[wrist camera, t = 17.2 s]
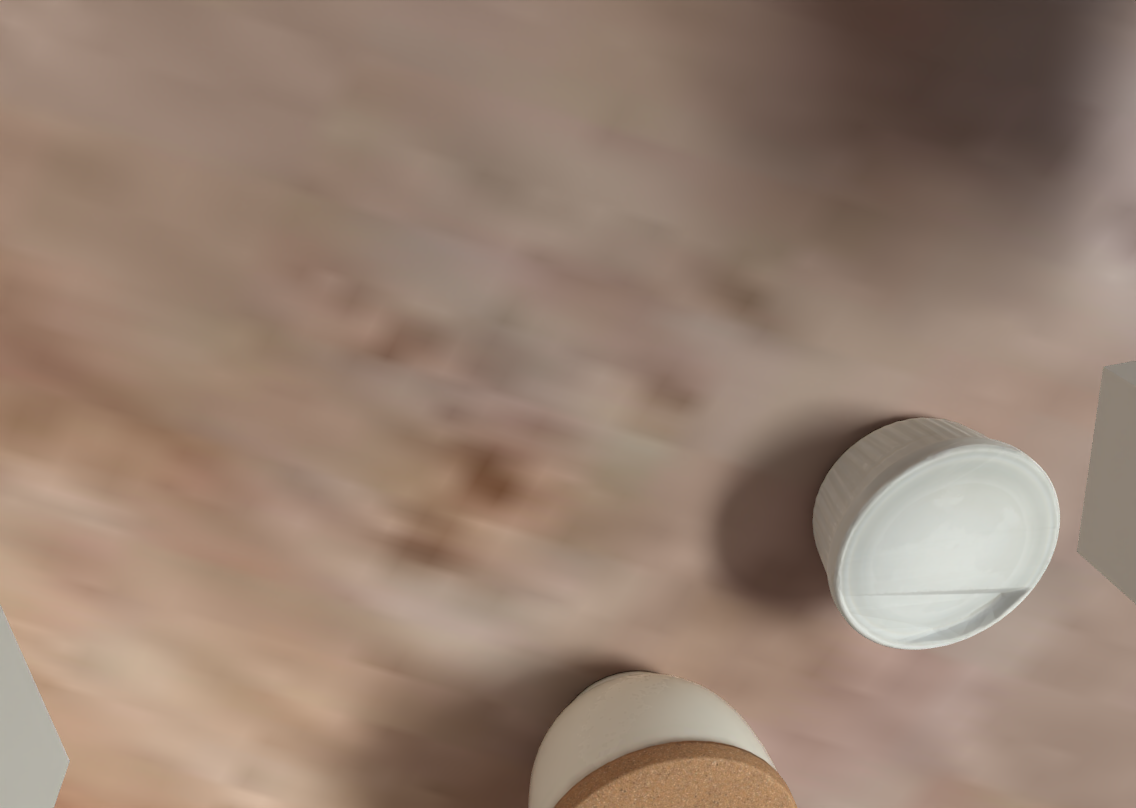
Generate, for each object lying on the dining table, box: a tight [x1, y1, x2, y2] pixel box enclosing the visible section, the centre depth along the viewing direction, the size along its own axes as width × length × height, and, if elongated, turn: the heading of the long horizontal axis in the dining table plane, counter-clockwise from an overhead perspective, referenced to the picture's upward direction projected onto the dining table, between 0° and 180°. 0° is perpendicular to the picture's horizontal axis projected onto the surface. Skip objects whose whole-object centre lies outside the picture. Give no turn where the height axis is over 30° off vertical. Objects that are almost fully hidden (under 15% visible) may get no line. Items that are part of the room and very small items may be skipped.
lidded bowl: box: [528, 671, 797, 808], centre depth 50 cm, size 13×13×11 cm
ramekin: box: [812, 417, 1060, 650], centre depth 49 cm, size 11×11×5 cm
